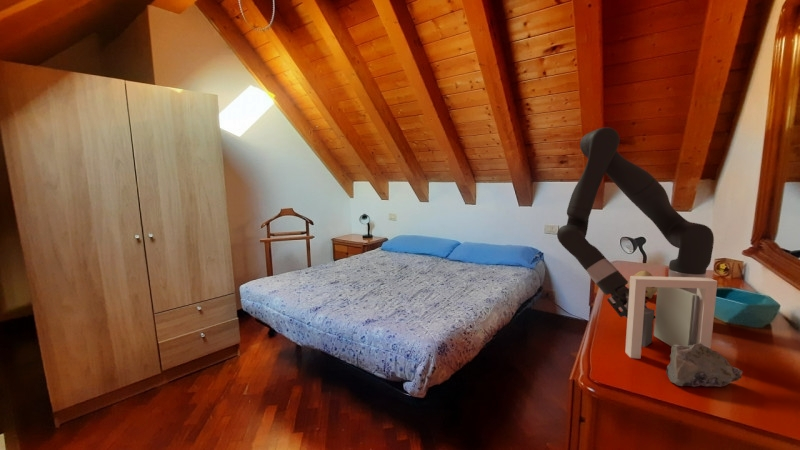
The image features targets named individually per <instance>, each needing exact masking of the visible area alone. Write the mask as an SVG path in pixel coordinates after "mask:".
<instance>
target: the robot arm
mask: <svg viewBox="0 0 800 450" xmlns="http://www.w3.org/2000/svg"><path fill="white" fill-rule="evenodd" d="M620 139H621V138H620V135H619V133H618V131H617V130H616V129H614V128H612V127H609V126H605V127H601V128H596V129H594V130H593V131H590V132H588V133H586V134H585V135H583V137H581V139H580V143H579V148H580V150H581V153H582V155H583V156H584V157H585V158H586V159H587V161H586V165H585V167H584V170H583V172H582V174H581V176H580V178H579V180H578V182H577V183H576V185H575V187H574V188H573V190H572V191H573V192H572V194H571V195H570V198H569V199H570V200H569V202H568V205H567V210H566V216H567V217H568V218H567V222H566V225H562V226H561V227H560V228H558V230H557V233H556V235H557V236H556V237H557V239H558V242H559V243H560V244H561V246H562V247H564V248H565V250H566V251H567V252H568V253H570V254H571V255H572V256H573V257H574V258H575V259H576V260H577V261H578V263H579V264H580V265H581V267H582V268H583V269H584V270H585V272H586V273H587V274H588V275H589V277H590V278H591V280H592V281H593V282H594V283H595V284H596V286H597V287H598V288H599V289H600V290H601V292H602V293H603V294H604V295H605V296H608V295H610V296H609V297H608V298H607V299H606V301H607V302H608V303H609V305H610V306H611V307H612V308H613V309H614V311H615V312H616V314H618V316H619V317H620V318H623V317H624V318H628V303H629V287H627V286H626V285H627V284H628V283H629V280H627V279H626V277H624V275H623V274H622V273H621V272H620V270H618V269H617V267H616V266H615V265H614V264H613V263H612V262H611V261H610V260H608V259H607V258H606V257H605V255H604V254H603V253H602V252H601V251H600V250H599V249H598V248H597V247H596V246H594V244H593V245H592V244H591V243H590V242H589V241H588V240H587V239H586V237H587V234H588V233H587V232H588V227H589V222H590V221H589V220H590V219H589V218H590V215H591V213H592V210H593V206H594V203H595V200H596V197H597V194H598V191H599V189H600V186H601V184H602V181H603V179H604V176H605V174H606V176H608V179H610V180H611V181H612V182H613V183H614V184H615V186H617V188H619V190H620V191H621V192H622V193H623V194H624V195H625V196H626V197H627V198H628V199H629V200H630V201H631V203H632V204H634V205H635V206H636V207H637V208H638V209H639V210H640V211H641V212H642V213H643V214H644V215H645V217H647V218H648V219H649V220H651V221H652V223H653V224H654V225H655V226H656V228H657V229H658V230H659V231H660V233H661V234H662V235H663V237H664V238H665V239H666V241H667V242H668V243H669V244H670V245H671V246H672V247H675V248H677V249H678V252H677V257H676V258H675V259H671V260H670V261H669V264H668V276H667V277H700V278H707V275H706V274H707V269H708V267H709V266H710V264H711V260H712V256H713V255H712V254H713V250H714V243H715V239H714V238H715V236H714V233H713V231H712V229H711V228H710V227H709V226H707V225H705V224H702V223H697V222H691V221H688V220H687V219H686V218H685V217H683V216H682V215H681V214H680V213H679V212H678V211H676V209H674V207H673V206H672V204H671V202H670V199H669V196H668V193H667V191H666V189H665V188H664V186H662V184H661V183H660V182H659V181H658V180H657V179H656V178H655V177H654V176H653V174H651V173H650V172H648V170H647V171H646V170H645V169H644V168H642V167H640V166H638V165H637V164H635V163H633V162H631V161H629V160H628V159H626V157H624V156H623V155H621V154H620V152H618V149H619V145H620V141H621V140H620ZM680 289H683V290H686V291H688V292H691V293H693V294H696V295H697V288H680ZM647 304H648V300H647V299H646V298H645V304H644V307H645V308H648V307H647ZM654 320H655V315H654ZM643 325H644V324H643Z"/></svg>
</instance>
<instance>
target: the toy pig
mask: <svg viewBox="0 0 800 450" xmlns="http://www.w3.org/2000/svg"><path fill="white" fill-rule="evenodd" d="M633 276H654V275H653V274H652V273H651V272H649V271H648V270H640V271H638V272H635V274H634V275H633ZM627 284H628V288H630V280H628V283H627ZM656 294H657V287H646V291H645V298H646V297H647V298H648V299H653V296H654V295H656Z"/></svg>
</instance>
